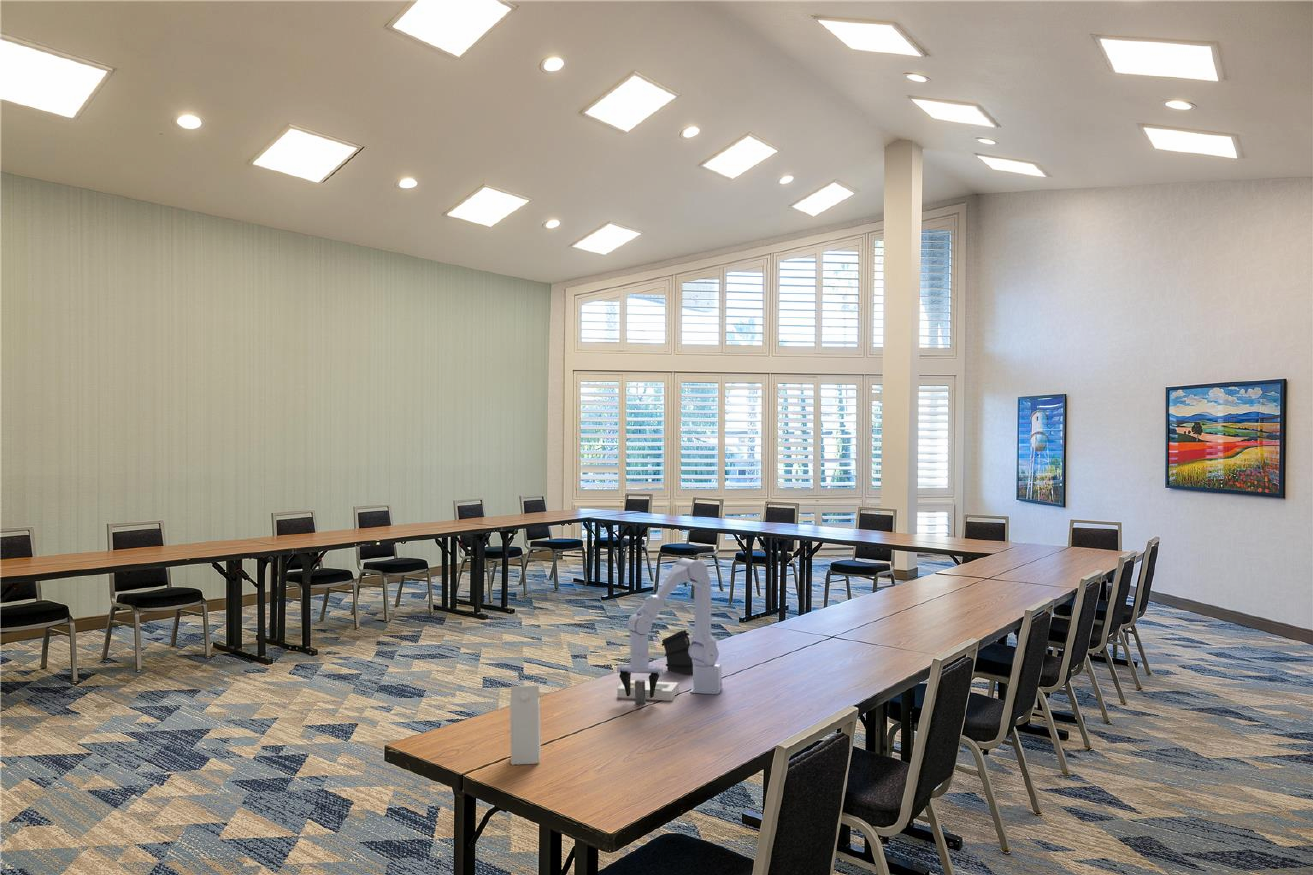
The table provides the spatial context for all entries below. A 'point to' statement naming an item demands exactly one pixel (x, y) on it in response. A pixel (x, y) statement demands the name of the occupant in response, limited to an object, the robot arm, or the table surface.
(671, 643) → the magazine
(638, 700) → the plug
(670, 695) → the socket box
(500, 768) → the table surface
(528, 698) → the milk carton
